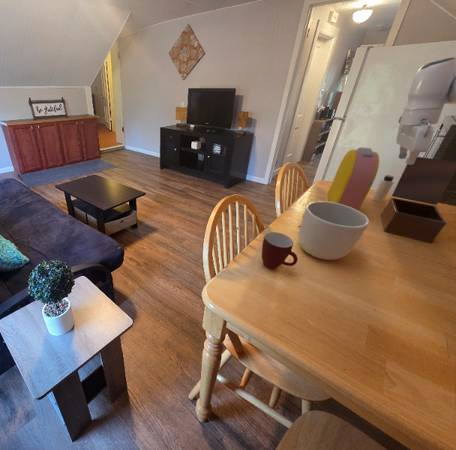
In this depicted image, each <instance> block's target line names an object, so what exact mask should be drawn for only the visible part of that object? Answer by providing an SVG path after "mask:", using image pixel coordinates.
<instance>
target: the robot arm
mask: <svg viewBox="0 0 456 450" xmlns="http://www.w3.org/2000/svg"><path fill="white" fill-rule="evenodd" d="M445 105H456V57H447V58H443V59H440V60H434V61H431V62H428V63H426V64H423V65H422V66H421V67H420V68H419V69H418V70H417V72H416V73H415V75H414V77H413V79H412V83H411V85H410V87H409V91H408V94H407V102H406V105H405V107H404V108H403V111H402V114H401V116H399V119H398V124H399V126H398V130H397V134H396V144H397V145H399V154H398V159H399V160H406V161H405V164H406V165H407V164H408V165H412V164H414V163H415V160H416V158H417V157H420V156H419V155H420V153H427V152H428V150H429V148H430V146H431V143H432V140H433V137H434V132H435V127H434V126H433V125H436V124H438V123H439V120H440V117H441V114H442V111H443V109H444V106H445ZM408 151H409V153H408ZM407 156H408V157H407Z"/></svg>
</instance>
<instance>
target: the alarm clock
mask: <svg viewBox="0 0 456 450" xmlns="http://www.w3.org/2000/svg"><path fill="white" fill-rule="evenodd" d="M379 166H380V155H379V154H378V152H377V151H373V150H372V148H371V147H363V146H361V147H358V148H357V149H349V150H348V151H347V152H346V154H345V155H344V156H343V157H342V160H341V162H340V164H339V165H338V167H337V170H336V172H335V175H334V177H333V180H332V182H331V185H330V187H329V190H328V191H327V199H328V202H333V203H338V204H342V205H346V206H349V207H351V208H354V209H356V210H358V211H360V209H361V208H362V205H363V203H364V202H365V200H366V198H367V196H368V194H369V192H370V190H371V188H372V186H373V184H374V182H375V179H376V177H377V174H378V171H379Z"/></svg>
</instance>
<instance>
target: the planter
mask: <svg viewBox="0 0 456 450" xmlns="http://www.w3.org/2000/svg"><path fill="white" fill-rule="evenodd" d="M303 215H304V216H303ZM303 215H302V220H301V223H300V225H301V227H299V230H298V242H299V245H300V246H301V248H302V249H303V250H304V251H305V253H307V254H309V255H311V256H312V257H314V258H317V259H320V260H325V261H326V260H327V261H333V260H334V261H335V260H338V259H341V258H344V257H346V256H347V255H348V254H349V253H351V251H352V250H353V248H354V247H355V245H356V244H357V243H358V241H359V240H360V238H361V237H362V235H363V234H364V233H365V231H366V230H367V228H368V226H369V225H370V219H369V217H368V216H367V215H366V214H364V213H363V212H361V211H360V210H359V211H358V210H356V209H354V208H351V207H349V206H346V205H342V204H338V203H333V202H329V201H323V200H322V201H321V200H318V201H311V202H309V203H308V204H307V205H306V206H305V208H304V213H303Z"/></svg>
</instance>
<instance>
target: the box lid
mask: <svg viewBox="0 0 456 450" xmlns="http://www.w3.org/2000/svg"><path fill="white" fill-rule="evenodd" d="M455 173H456V161H453V160H452V161H451V160H446V159H438V158H430V157H421V156H418V157H417V158H416V160H415V163H414V164H412V165H408V164H406V166H405V168H404V170H403V171H402V173H401V176H400V177H399V180H398V182H397V183H396V186H395V187H394V190H393V192H392V194H391V197H392V198H397V199H402V200H407V201H412V202H418V203H423V204H428V205H433V206H437V205H438V203H439V202H440V200H441V199H442V197H443V194H444V193H445V191H446V189H447V187H448V186H449V184H450V182H451V180H452V178H453V176H454V175H455Z"/></svg>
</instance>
